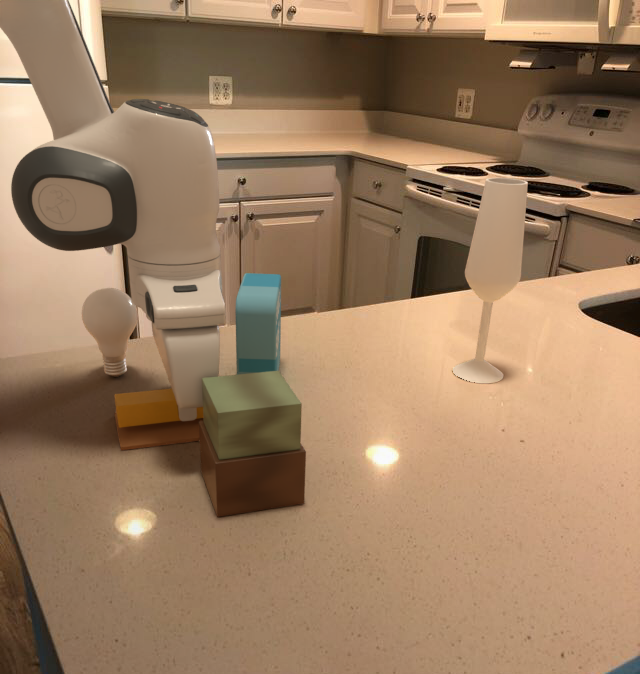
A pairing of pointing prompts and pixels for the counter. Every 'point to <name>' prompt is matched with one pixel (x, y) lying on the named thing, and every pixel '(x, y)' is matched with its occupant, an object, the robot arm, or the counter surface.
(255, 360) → the data package
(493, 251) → the champagne flute
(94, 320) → the lightbulb
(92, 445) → the counter surface
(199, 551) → the counter surface
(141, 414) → the bar
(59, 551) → the counter surface
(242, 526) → the counter surface
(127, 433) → the cork mat
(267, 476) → the tower
